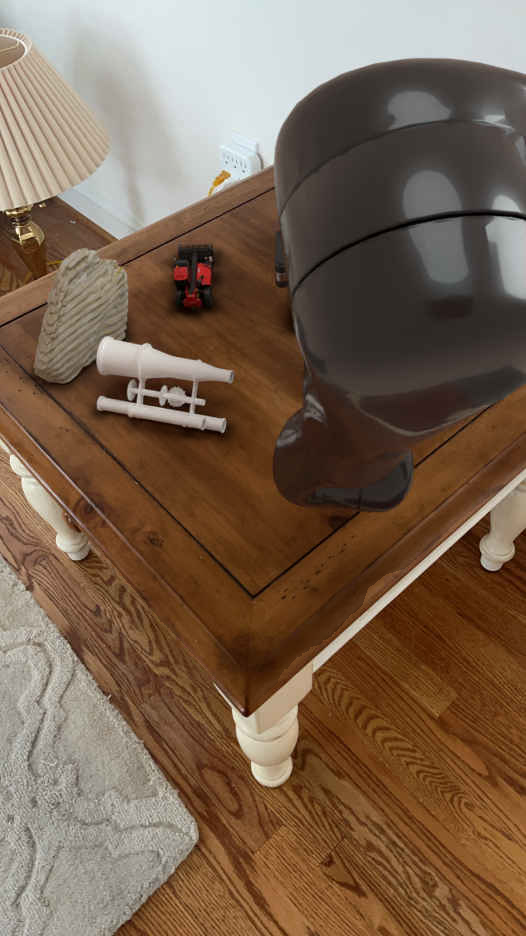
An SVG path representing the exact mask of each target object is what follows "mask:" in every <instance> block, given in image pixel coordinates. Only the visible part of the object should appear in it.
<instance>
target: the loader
mask: <svg viewBox="0 0 526 936" xmlns="http://www.w3.org/2000/svg"><path fill="white" fill-rule="evenodd" d="M177 244H178V246H177V248H178V249H177V254H178V259H177V258H176V257H173V258H172V260H173V261H174V263H173V270H172V275H173V276H172V279H173V280H172V283H173V284H174V286H175V289H174V302H175V308H176V309H177V310H179V309H180V310H181V309H184V307H186V308H191V310H194V309H195V308H198V307H201V306H202V300H203V304H204V307H205V308H212V306H213V294H212V293H213V292H212V285H213V283H212V281H213V280H214V265H213V263H215V255H216V253H215V252H214V245H213V243H212V241H209V243H199V244H198V243H197V244H195V243H194V244H191V245H189V244H181V243H180V242H179V243H177Z"/></svg>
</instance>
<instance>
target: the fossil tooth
mask: <svg viewBox="0 0 526 936" xmlns="http://www.w3.org/2000/svg"><path fill="white" fill-rule="evenodd" d="M52 280H53V283H54V284H53V285H52V287H51V289H50V291H49V292H48V295H47V299H46V300H47V301H46V302H47V309H46V310H45V312H44V315H43V317H42V321H41V323H42V325H41V328H40V333H39V335H38V338H37V341H38V345H37V347H36V349H35V356H34V363H33V369H34V375H36V376H38V377H39V378H41V379H43V380H44V381H46V382H48V383H54V384H55V383H56V384H67V383H70V382H71V381H72V380H73V379H74V378H75V377H77V376H78V375H79V373H80V372H81V370H82V369H83V368H84V367H87V366H89V365H90V364H91V363H92V362H93V361H96V360H97V351H98V347H99V345H100V343H101V341H102V339H103V338H105V337H107V336H109V337H112V338H113V339H114V340H118V341H123V340H124V339H125V338H126V331H125V330H127V329H128V328H127V322H128V316H127V315H128V311H129V298H128V297H129V295H130V294H129V285H128V272H127V271H126V270H125V268H124V266H121V265H118V261H117V260H116V259H111V258H105V259H104V258H100V256H99V251H96V250H95V249H88V248H87V247H84V248H83V247H82V248H81V249H79V248H78V249H77V250H75V251H72V252H71V253H70V254H69V255H68V256H67V257H65V258H64V259H63V260H61V262H60V265H59V267H58V270H57V271H56V273H55V275H54V277H53V279H52Z"/></svg>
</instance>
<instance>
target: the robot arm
mask: <svg viewBox="0 0 526 936" xmlns="http://www.w3.org/2000/svg"><path fill="white" fill-rule="evenodd" d="M273 156H274V157H273V175H274V176H273V178H274V180H273V181H274V192H275V193H274V195H275V202H276V212H277V220H278V225H279V228H280V229H278V230H277V231H275V239H274V241H275V244H274V277H275V286H276V287H277V288H280V289H283V288H287V289H288V296H289V303H290V310H291V316H292V324H293V323H294V328H293V329H294V332H295V338H296V342H297V345H298V348H299V351H300V353H301V356H302V358H303V366H302V367H303V368H302V369H303V370H302V385H301V391H302V398H303V399H302V400H303V402H302V406H301V408H299V409H298V410H296V411H295V412H294V413H293V414H292V415H290V417H289V418H288V419H287V421H286V422H285V423H284V425H283V426H282V428H281V430H280V432H279V434H278V436H277V439H276V441H275V445H274V449H273V454H272V477H273V481H274V484H275V486H276V488H277V490H278V493H279V494H280V495H281V497H282V498H284V499H285V500H286V501H287V502H289V503H291V504H292V505H296V506H298V507H303V508H313V509H325V510H326V509H328V510H336V511H337V510H338V511H349V512H350V511H351V512H355V511H357V512H362V513H375V514H376V513H379V514H380V513H387V512H390V511H393V510H394V509H396V508H398V507H399V506H400V505H401V504H402V503H403V502H404V501H405V499H406V498H407V496H408V495H409V493H410V490H411V488H412V485H413V481H414V477H415V476H414V475H415V460H414V459H415V458H414V455H413V448H414V447H415V446H418V445H420V444H422V443H424V442H426V441H428V440H430V439H432V438H434V437H436V436H438V435H441V434H442V433H444V432H445V431H448V430H449V429H451V428H454V427H455V426H457V425H459V424H460V423H462V422H464V421H465V420H468V419H469V418H471V417H473V416H476V415H477V414H478V413H481V412H483V411H484V410H486V409H488V408H490V407H491V406H493V405H495V404H496V403H498V402H500V401H501V400H503V399H504V398H506V397H508V396H509V395H511V394H512V393H514V392H515V391H516V390H518V389H520V388H521V387H522V386H524V385H526V73H523V72H519V71H517V70H512V69H508V68H504V67H501V66H496V65H493V64H492V65H491V64H488V63H484V62H480V61H473V60H466V59H458V58H451V57H450V58H448V57H447V58H446V57H414V58H413V57H411V58H401V59H393V60H388V61H387V60H386V61H380V62H375V63H371V64H368V65H365V66H361V67H358V68H354V69H352V70H348V71H346V72H343V73H339V74H338V75H336V76H335V77H333V78H331V79H329V80H327V81H325V82H323V83H321V84H319V85H318V86H316V87H315V88H313V90H311V91H310V92H309V93H308V94H306V95H305V96H304V97H303V98H301V99H300V101H298V102H297V103H295V105H294V106H293V108H292V110H291V111H290V113H289V114H288V115H287V117H286V118H285V119H284V121H283V123H282V124H281V127H280V128H279V131H278V134H277V138H276V142H275V146H274V155H273Z"/></svg>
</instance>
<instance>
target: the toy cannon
mask: <svg viewBox="0 0 526 936" xmlns="http://www.w3.org/2000/svg"><path fill="white" fill-rule="evenodd" d="M95 361H96V369H97V371H98V373H99V374H100V375H101V376H106V377H107V376H109V375H113V376H120V377H121V376H122V377H128V378H129V377H130V378H133V379H131V380H130V381H129V383H128V385H127V390H126V396H127V399H128V400H129V401H125V400H120V399H113V398H109V397H106V396H105V395H99V397H98V398H97V401H96V410H97V411H100V412H103V411H106V412H113V413H116V414H117V413H118V414H122V415H123V414H124V415H127V417H128V418H136V419H144V420H149V421H150V420H151V421H156V422H161V423H167V424H172V425H177V426H181V427H182V428H186V427H187V428H189V429H192V428H194V429H198V430H200V431H204V430H205V429H206V430H210V431H216V432H220V433H221V434H224V432H225V431H226V427H227V419H226V418H225V417H223V418H220V417H214V416H210V415H209V416H208V415H203V414H198V413H195V410H196V405H198V406H202V407H203V406H204V407H205V405H206V399H203V398H197V395H198V388H199V382H221V383H222V382H223V383H228V384H229V385H230V384H233V381H234V377H235V372H234V370H233V369H224V368H220V367H215V366H213V365H211V364H208V363H205V362H204V361H202V360H201V359H197V360H195V359H191V358H190V359H189V358H185V357H178V356H173V355H171V354H168V353H166V352H163V351H161V350H158V349H156V348H153V346H152V345H151V344H150V343H148V342H145V343H143V344H138V343H133V342H128V341H124V340H121V341H118V340H114V339H113V338H112V337H109V336H107V337H105V338H103V339H102V341H101V343H100V345H99V347H98V351H97V358H96V359H95ZM134 378H135V379H134ZM136 378H137V380H138V381H139V382H138V384H137V381H136ZM164 378H166V379H167V378H172V379H177V380H185V381H192V382H193V385H192V391H191V396H187V395H186V391H185V390H183V388H180V386H177V387H176V386H173V387H170V389H168V386H167V385H166V384H164V385H163V386H162V387H161V389H160V391H158V390H151V389H146V382H147V381H148V380H149V379H164ZM137 386H138V387H137ZM136 395H137V397H136ZM145 396H147V397H153V398H158V401H159V402H158V403H159V405H160V406H161V407H159V406H153V405H148V404H144V398H145ZM135 397H136V402H132V401H134V399H135ZM166 402H167V403H169V406H172V407H173V408H175V407H176V408H179V407H182V405H184V404H185V403H186V404H190V405H189V412H186V411H181V410H176V409H170V408H164V407H163V406H164V405H165V404H166Z"/></svg>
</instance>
